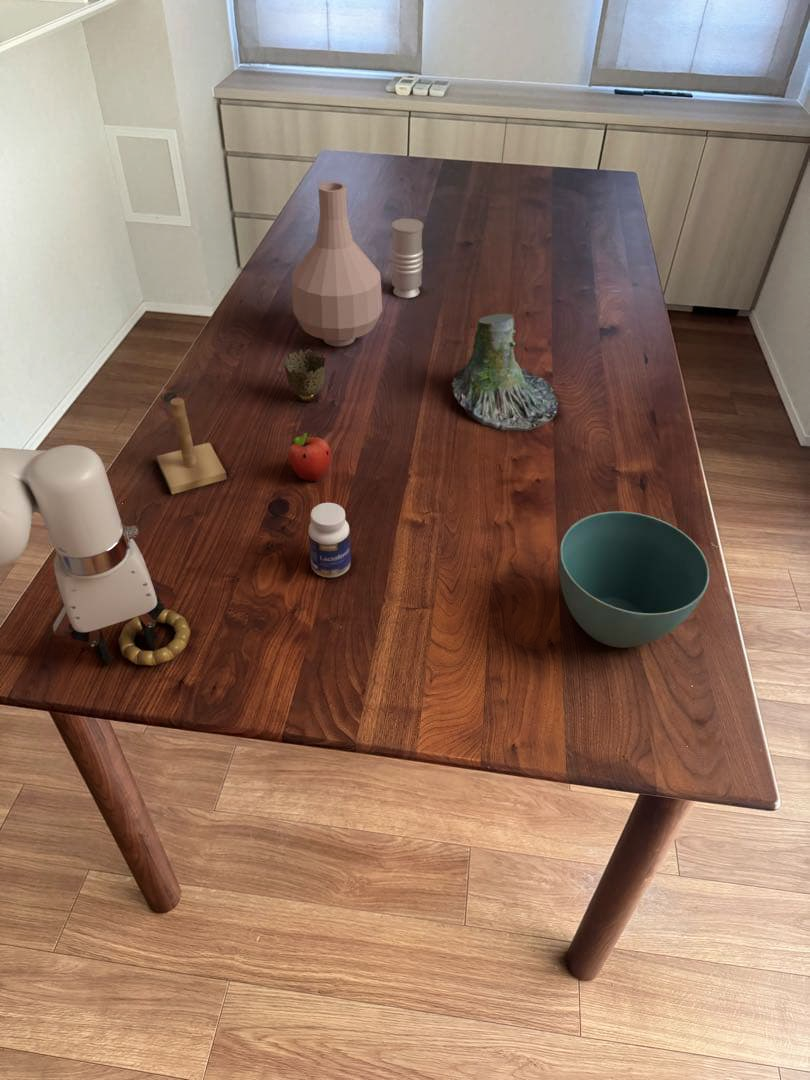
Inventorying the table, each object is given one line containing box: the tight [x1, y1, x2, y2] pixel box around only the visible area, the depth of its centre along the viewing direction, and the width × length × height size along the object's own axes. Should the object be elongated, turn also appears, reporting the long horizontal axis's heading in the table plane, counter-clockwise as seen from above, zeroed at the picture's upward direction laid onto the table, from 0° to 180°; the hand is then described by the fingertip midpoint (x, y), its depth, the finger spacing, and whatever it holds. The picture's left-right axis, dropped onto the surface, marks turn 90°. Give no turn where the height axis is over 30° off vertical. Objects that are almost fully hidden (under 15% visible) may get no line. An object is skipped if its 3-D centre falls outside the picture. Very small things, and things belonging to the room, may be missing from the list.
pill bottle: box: [307, 502, 352, 579], centre depth 111 cm, size 6×6×10 cm
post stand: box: [155, 397, 228, 495], centre depth 125 cm, size 9×9×14 cm
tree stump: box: [451, 313, 559, 431], centre depth 142 cm, size 18×20×18 cm
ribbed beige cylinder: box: [390, 218, 424, 299], centre depth 173 cm, size 7×7×15 cm
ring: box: [118, 609, 191, 666], centre depth 103 cm, size 9×9×2 cm
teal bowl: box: [558, 510, 710, 649], centre depth 103 cm, size 18×18×12 cm
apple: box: [287, 432, 332, 482], centre depth 125 cm, size 8×7×10 cm
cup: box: [282, 349, 327, 403], centre depth 143 cm, size 8×7×8 cm
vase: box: [291, 181, 383, 347], centre depth 152 cm, size 18×18×30 cm
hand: (128, 648), depth 102 cm, fingers open, 4 cm apart
